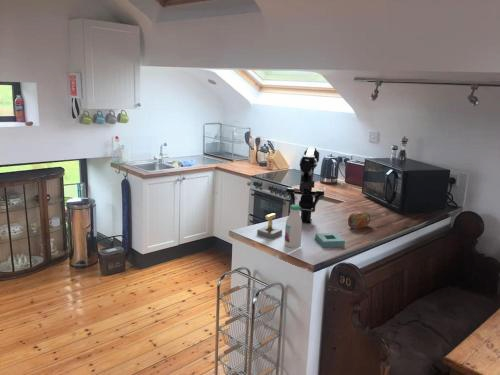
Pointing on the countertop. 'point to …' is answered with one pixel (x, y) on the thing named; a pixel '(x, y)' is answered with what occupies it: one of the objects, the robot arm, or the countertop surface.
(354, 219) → the tin
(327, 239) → the teal square socket block
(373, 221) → the countertop surface
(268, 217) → the brass T-key
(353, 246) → the countertop surface
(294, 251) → the countertop surface
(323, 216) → the countertop surface
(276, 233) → the charcoal socket block
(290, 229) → the milk bottle
